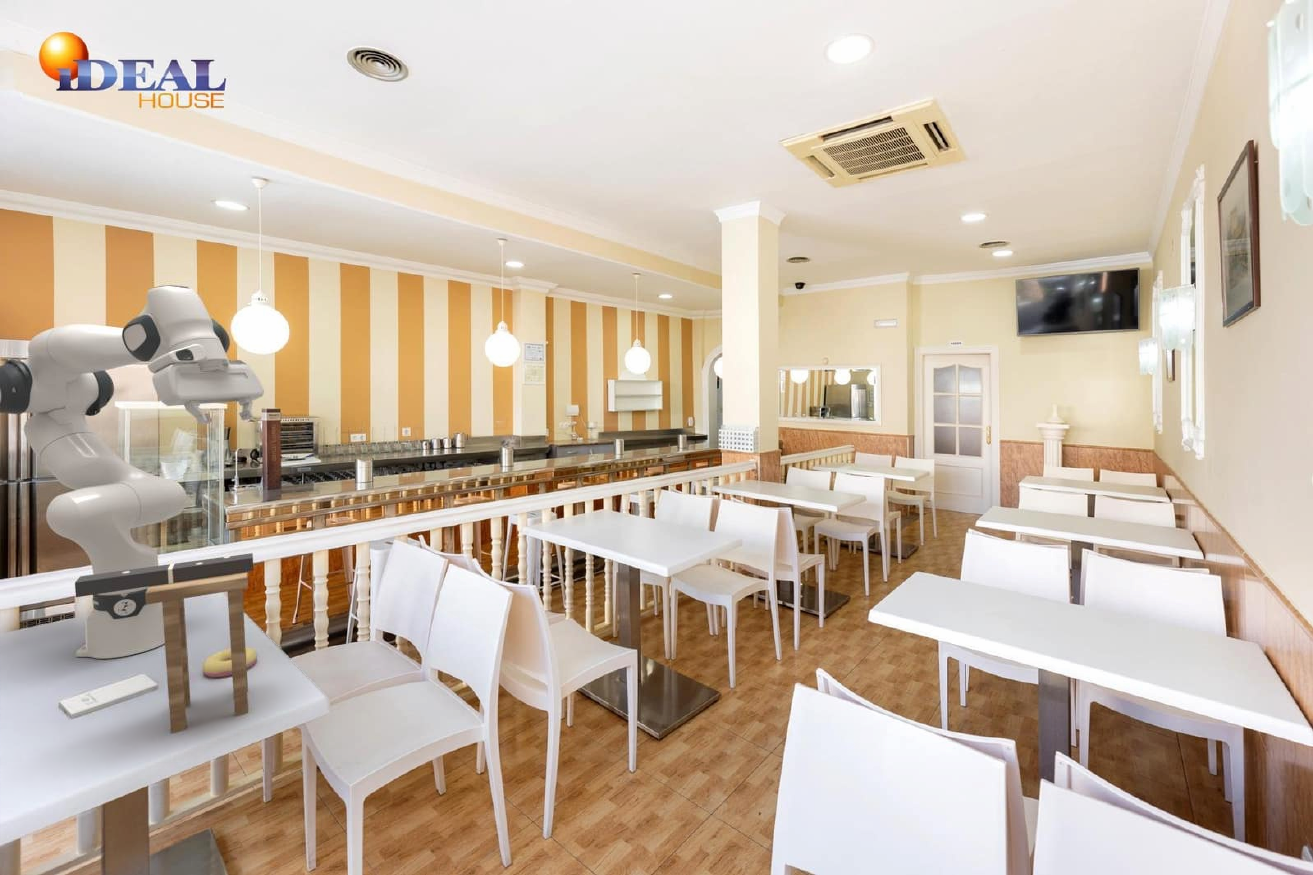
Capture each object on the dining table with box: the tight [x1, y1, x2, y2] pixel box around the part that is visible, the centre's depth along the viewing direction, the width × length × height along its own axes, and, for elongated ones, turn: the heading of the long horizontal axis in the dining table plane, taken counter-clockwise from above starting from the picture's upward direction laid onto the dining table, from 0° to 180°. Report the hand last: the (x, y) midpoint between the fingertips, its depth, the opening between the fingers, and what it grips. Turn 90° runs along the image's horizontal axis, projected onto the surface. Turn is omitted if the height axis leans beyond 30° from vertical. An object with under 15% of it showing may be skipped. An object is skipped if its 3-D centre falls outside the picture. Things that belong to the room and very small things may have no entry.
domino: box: [74, 552, 255, 598], centre depth 101 cm, size 4×24×3 cm, turn 126°
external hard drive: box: [58, 673, 159, 720], centre depth 110 cm, size 2×8×12 cm
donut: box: [201, 646, 258, 679], centre depth 122 cm, size 10×5×9 cm
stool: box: [145, 571, 249, 734], centre depth 105 cm, size 12×14×26 cm
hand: (227, 421), depth 117 cm, fingers open, 8 cm apart
